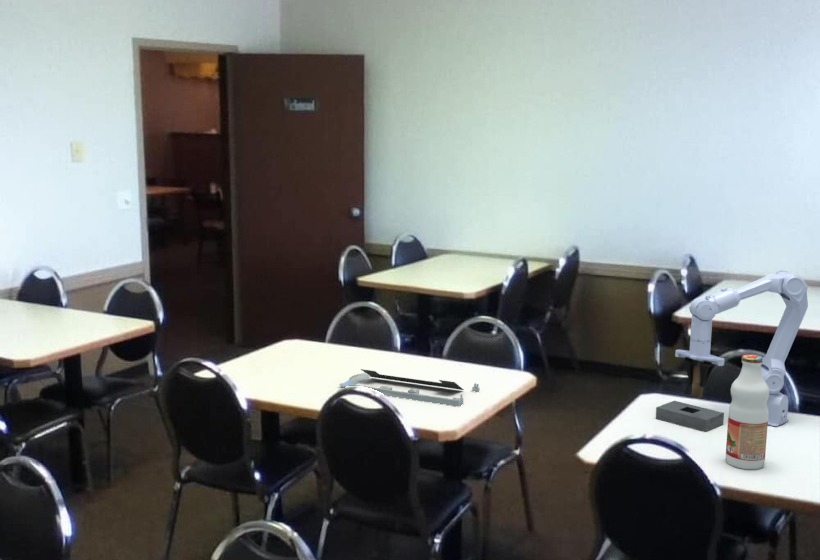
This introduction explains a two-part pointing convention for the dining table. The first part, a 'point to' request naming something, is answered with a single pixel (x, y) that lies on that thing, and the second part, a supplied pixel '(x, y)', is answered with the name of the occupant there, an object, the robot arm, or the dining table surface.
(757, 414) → the fruit juice
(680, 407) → the block with square hole
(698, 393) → the peg
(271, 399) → the dining table surface
